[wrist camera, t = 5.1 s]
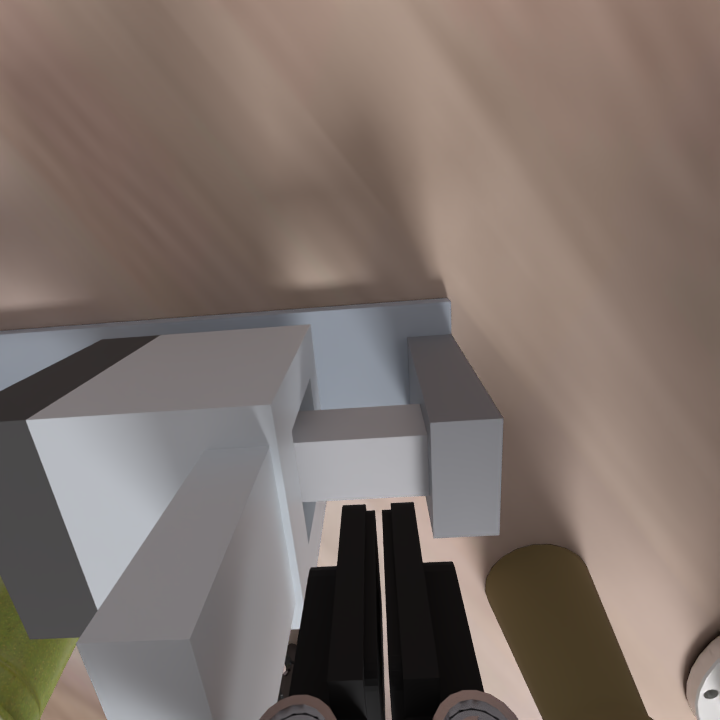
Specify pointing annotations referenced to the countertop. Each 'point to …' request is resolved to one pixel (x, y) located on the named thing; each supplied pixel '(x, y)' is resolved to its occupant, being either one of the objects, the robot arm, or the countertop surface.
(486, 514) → the rail stand
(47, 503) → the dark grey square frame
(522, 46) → the countertop surface
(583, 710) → the cork
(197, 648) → the sleeve
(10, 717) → the plant pot
